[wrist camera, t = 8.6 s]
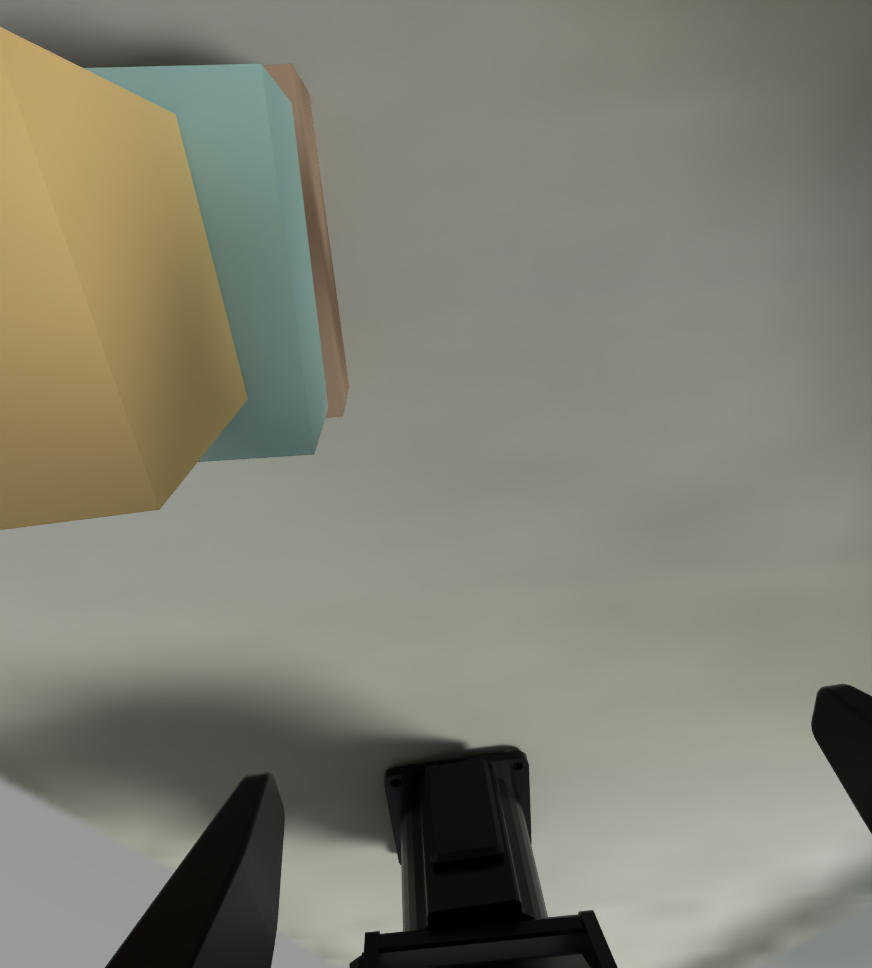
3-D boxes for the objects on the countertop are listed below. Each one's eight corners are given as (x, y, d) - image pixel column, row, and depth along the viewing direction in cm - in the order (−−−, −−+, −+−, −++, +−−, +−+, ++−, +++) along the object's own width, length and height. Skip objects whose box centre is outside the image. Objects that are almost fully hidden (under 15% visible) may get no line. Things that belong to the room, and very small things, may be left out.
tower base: (349, 383, 19) (342, 416, 16) (102, 406, 19) (44, 444, 15) (310, 96, 16) (291, 63, 12) (7, 115, 15) (-92, 88, 12)
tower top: (328, 407, 16) (314, 454, 13) (62, 423, 15) (-22, 475, 12) (291, 102, 13) (261, 63, 10) (-39, 112, 12) (-186, 74, 9)
